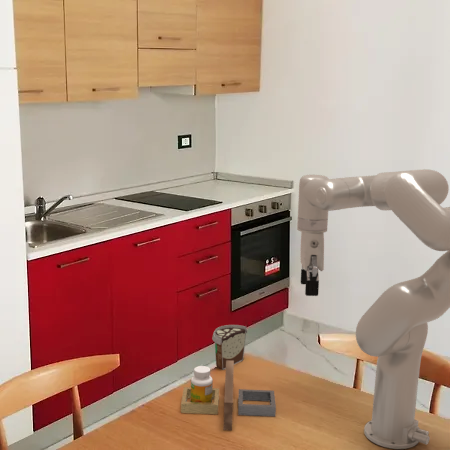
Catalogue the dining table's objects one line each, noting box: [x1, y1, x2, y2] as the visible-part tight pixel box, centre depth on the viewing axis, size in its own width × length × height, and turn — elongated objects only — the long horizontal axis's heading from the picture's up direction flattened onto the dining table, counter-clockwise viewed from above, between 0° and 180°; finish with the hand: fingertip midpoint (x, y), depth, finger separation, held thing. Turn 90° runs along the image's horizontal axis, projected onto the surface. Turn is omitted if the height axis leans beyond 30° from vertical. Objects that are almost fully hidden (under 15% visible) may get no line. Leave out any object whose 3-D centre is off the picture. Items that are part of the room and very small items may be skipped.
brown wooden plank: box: [222, 360, 235, 431], centre depth 176 cm, size 2×24×7 cm, turn 179°
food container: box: [211, 324, 248, 371], centre depth 202 cm, size 12×6×10 cm, turn 141°
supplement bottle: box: [189, 365, 214, 403], centre depth 176 cm, size 5×5×10 cm
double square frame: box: [180, 386, 277, 417], centre depth 176 cm, size 23×9×2 cm, turn 89°
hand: (309, 289), depth 181 cm, fingers open, 9 cm apart
